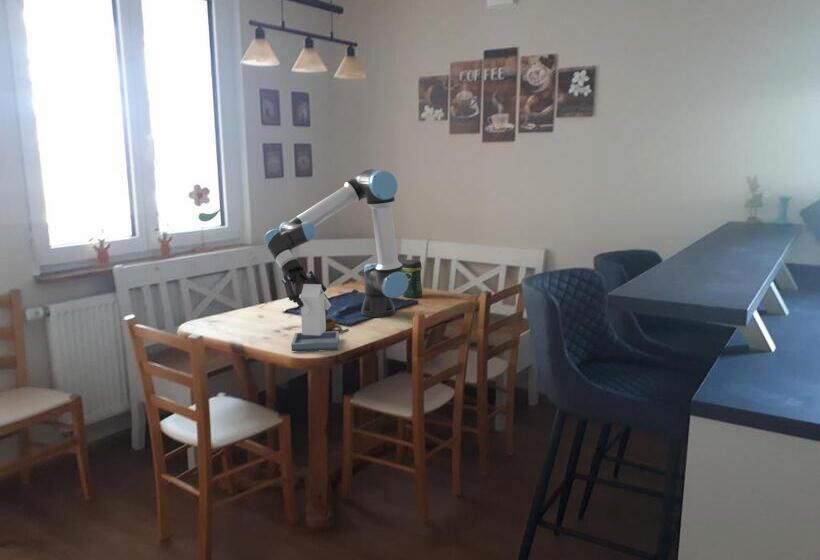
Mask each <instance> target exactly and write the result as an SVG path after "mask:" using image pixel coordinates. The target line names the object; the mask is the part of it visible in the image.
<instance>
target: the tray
mask: <svg viewBox="0 0 820 560" xmlns="http://www.w3.org/2000/svg"><path fill="white" fill-rule="evenodd" d="M339 341H340V332H339V331H336V330H332V331H331V332H324V333H322V334H321V335H320V336H318V335H302V332H295V333H294V336H293V339H292V342H291V352H292V351H306V352H320V351H319V350H330V351H338V350H339V343H340V342H339Z"/></svg>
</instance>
